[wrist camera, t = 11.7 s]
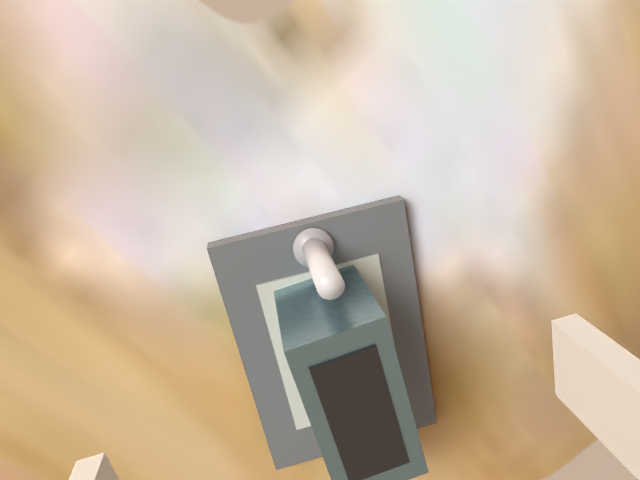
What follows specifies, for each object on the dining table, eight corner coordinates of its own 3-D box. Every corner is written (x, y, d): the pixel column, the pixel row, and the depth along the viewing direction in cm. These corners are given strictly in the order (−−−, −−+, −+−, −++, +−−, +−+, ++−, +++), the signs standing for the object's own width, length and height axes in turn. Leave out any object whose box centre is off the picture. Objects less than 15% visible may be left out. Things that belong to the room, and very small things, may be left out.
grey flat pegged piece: (398, 195, 34) (445, 228, 26) (431, 413, 41) (476, 489, 33) (208, 242, 33) (198, 291, 25) (275, 458, 39) (283, 549, 32)
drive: (353, 264, 33) (387, 317, 26) (390, 394, 37) (429, 474, 30) (273, 291, 33) (283, 353, 25) (320, 420, 37) (341, 506, 30)
